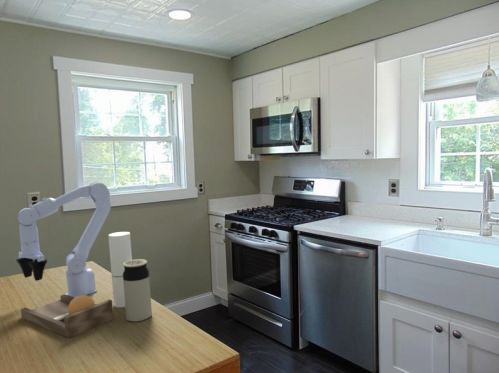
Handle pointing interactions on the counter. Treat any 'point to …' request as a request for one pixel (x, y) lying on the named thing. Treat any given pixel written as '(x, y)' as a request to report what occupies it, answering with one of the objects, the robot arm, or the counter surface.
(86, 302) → the ball
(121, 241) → the cylindrical container
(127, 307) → the travel mug
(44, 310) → the tray
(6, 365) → the counter surface
